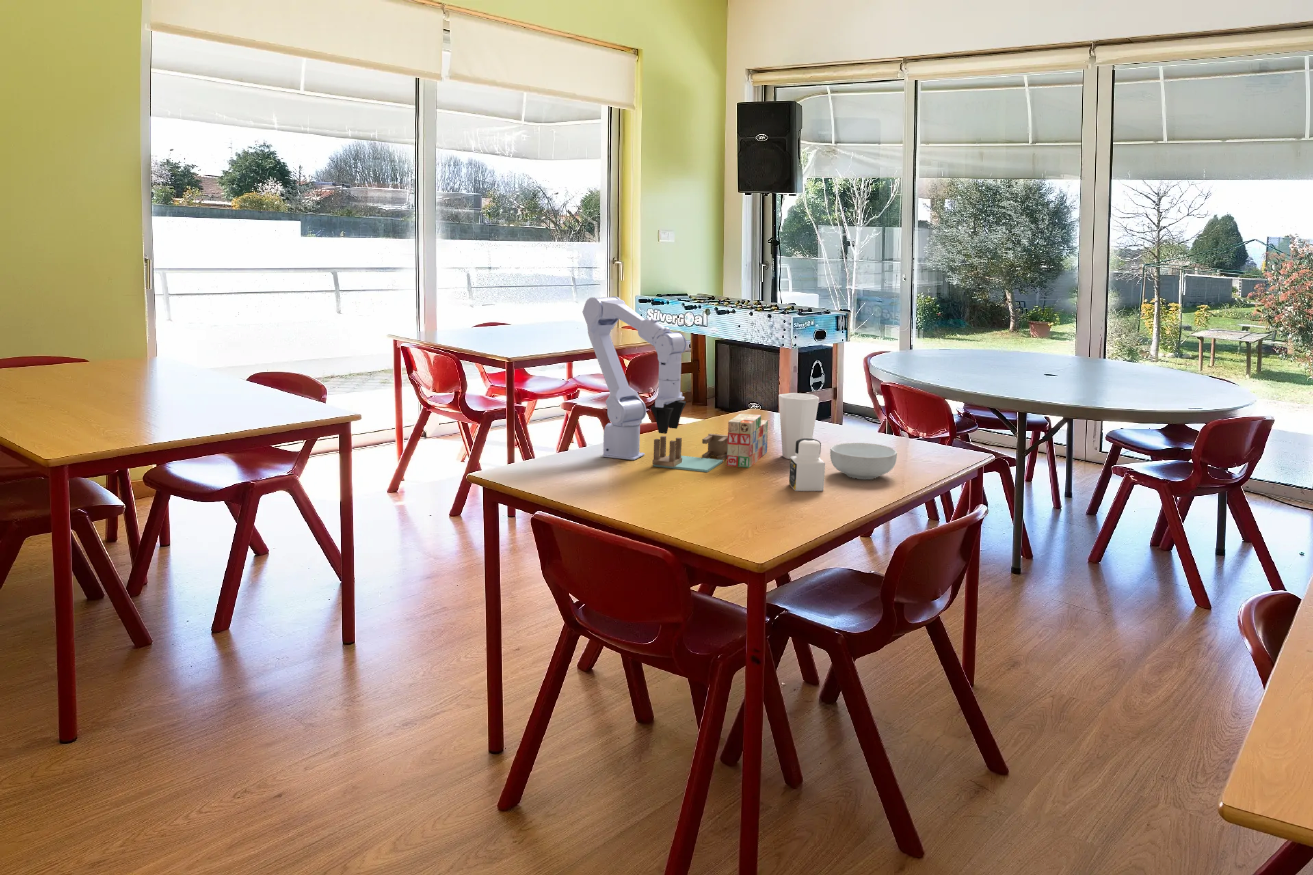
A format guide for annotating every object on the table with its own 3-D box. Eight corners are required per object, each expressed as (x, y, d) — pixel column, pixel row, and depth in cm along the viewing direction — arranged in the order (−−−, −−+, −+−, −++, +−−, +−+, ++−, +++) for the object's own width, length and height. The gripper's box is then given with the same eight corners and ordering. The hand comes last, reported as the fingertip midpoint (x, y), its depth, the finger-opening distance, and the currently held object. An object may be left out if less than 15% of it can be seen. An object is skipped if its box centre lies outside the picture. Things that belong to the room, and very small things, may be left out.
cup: (771, 458, 289) (773, 397, 286) (781, 451, 298) (784, 392, 295) (811, 462, 285) (814, 400, 282) (820, 455, 294) (823, 395, 291)
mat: (653, 466, 277) (653, 463, 277) (671, 456, 289) (671, 454, 289) (707, 472, 272) (707, 469, 271) (723, 462, 283) (723, 460, 283)
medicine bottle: (788, 484, 261) (790, 436, 259) (817, 484, 262) (819, 436, 259) (794, 491, 254) (797, 442, 252) (823, 491, 255) (826, 442, 252)
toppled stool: (701, 438, 285) (709, 433, 291) (701, 459, 286) (709, 454, 292) (722, 440, 283) (730, 435, 289) (722, 462, 284) (729, 456, 290)
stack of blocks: (745, 450, 299) (747, 407, 297) (767, 452, 298) (769, 409, 295) (726, 466, 280) (727, 420, 277) (749, 468, 278) (751, 422, 275)
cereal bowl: (816, 471, 276) (818, 444, 275) (870, 466, 282) (871, 440, 281) (853, 486, 261) (854, 458, 259) (908, 481, 267) (910, 453, 266)
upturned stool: (652, 464, 276) (652, 439, 275) (660, 459, 282) (661, 435, 280) (673, 466, 274) (674, 441, 273) (682, 462, 280) (682, 437, 278)
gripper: (674, 384, 266) (672, 436, 268) (693, 376, 279) (691, 427, 282) (648, 381, 268) (646, 434, 271) (668, 374, 281) (667, 424, 284)
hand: (668, 430), depth 276 cm, fingers open, 7 cm apart
